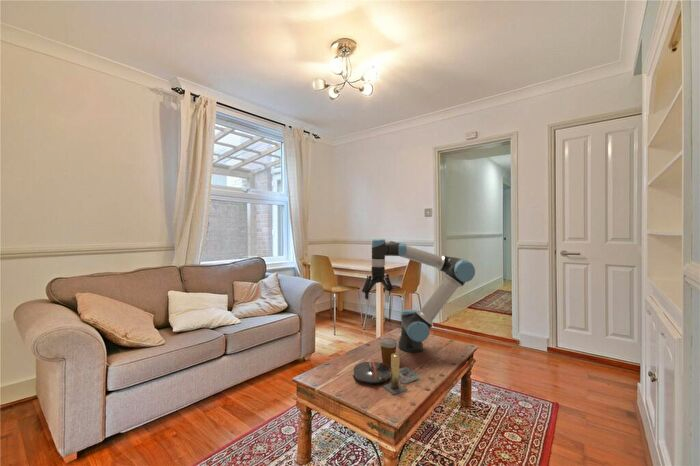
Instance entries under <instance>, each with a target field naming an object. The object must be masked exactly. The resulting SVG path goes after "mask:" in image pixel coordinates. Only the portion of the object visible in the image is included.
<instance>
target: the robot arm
mask: <svg viewBox="0 0 700 466" xmlns="http://www.w3.org/2000/svg"><path fill="white" fill-rule="evenodd" d="M388 256H389V257H401V258H403V259H407V260H410V261H412V262H413V261H414V262H416V263H421V264H423V265H425V266H426V265H427V266H429V267H433V268H436V269H437V271H440V272H443V273H444V279H443V280H442V282H440V284H439V286H438V287H437V288H436V289H435V290H434V292H433V293H432V294H431V296H430V297H429V299H428V300H427V301H426V302H425V303H424V305H423V306H422V308H421V309H420V310H417V309H404V310H402V311H401V315H400V317H401V322H400V323H401V324H400V326H401V327H400V329H401V330H400V331H401V332H400V336H399V340H398V342H397V347H398V348H399V350H401V351H403V352H407V353H421V351H423V349H424V344H423V342H424V341H426V340H427V339H428V337H429V336H430V330H431V328H432V327H433V326H434V324H433V323H434V322H433V321H434V319H435V318H436V317H437V315H438V314H439V313H440V311H441V310H442V309H443V308H444V306H445V305H446V304H447V302H449V300H450V299H451V297H452V296H453V294H454V293H456V290H458V288H462V287H463V286H465V284H466V283H468V282H470V281H472V280H473V279H474V277H475V275H476V268H475V266H474V264H473V263H472V262H471V261H468V260H467V259H462V258H459V257H453V256H447V255H445V254H442V255H438V254H435V253H433V252H432V253H431V252H428V251H425V250H421V249H418V248H416V247H412V246H408V245H407V244H406V243H405V242H396V241H392V240H391V241H388V242H387V241H386V239H383V238H374V239H372V241H371V275H366V280H365V282H364V285H363V288H362V289H361V292H362V293H364V299H365V305H367V306H370V305H371V293H370V292H371V290H372V289H373V287H374V286H375V285H376V284H379V283H380V284H382V286H383V287H384V289H385V291H384V302H385V303H389V302H390V296H391V291H392V290H393V289H394V288H393V285H392V282H391V280H390V275H389V274H388V273H386V270H385V269H386V268H385V266H386V257H388Z"/></svg>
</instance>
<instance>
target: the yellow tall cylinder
mask: <svg viewBox="0 0 700 466" xmlns="http://www.w3.org/2000/svg"><path fill="white" fill-rule="evenodd" d="M399 369H400V354H399V353H396V352H395V353H393V354H391V365H390V383H391V388H392V389H394V390H397V389H399V384H400V381H399Z"/></svg>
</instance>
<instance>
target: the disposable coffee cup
mask: <svg viewBox="0 0 700 466" xmlns="http://www.w3.org/2000/svg"><path fill="white" fill-rule="evenodd" d="M379 345H380V351H381V360H382V361H381V363H382V364H384V365H386V366H391V354H393V353H396V351H397V347H398V342H397V340H396V339H395V338H390V337H384V338H381V339H380V341H379Z"/></svg>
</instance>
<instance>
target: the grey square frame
mask: <svg viewBox="0 0 700 466" xmlns="http://www.w3.org/2000/svg"><path fill="white" fill-rule="evenodd" d="M405 375H406V376H405ZM419 379H420V378H419V373H418V372H416V371H414V370H412V369H410V368H409V367H407V366H404V367H401V368H399V382H401V383H402V384H404V385H406V384H410V383H411V382H414V381H418V380H419Z"/></svg>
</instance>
